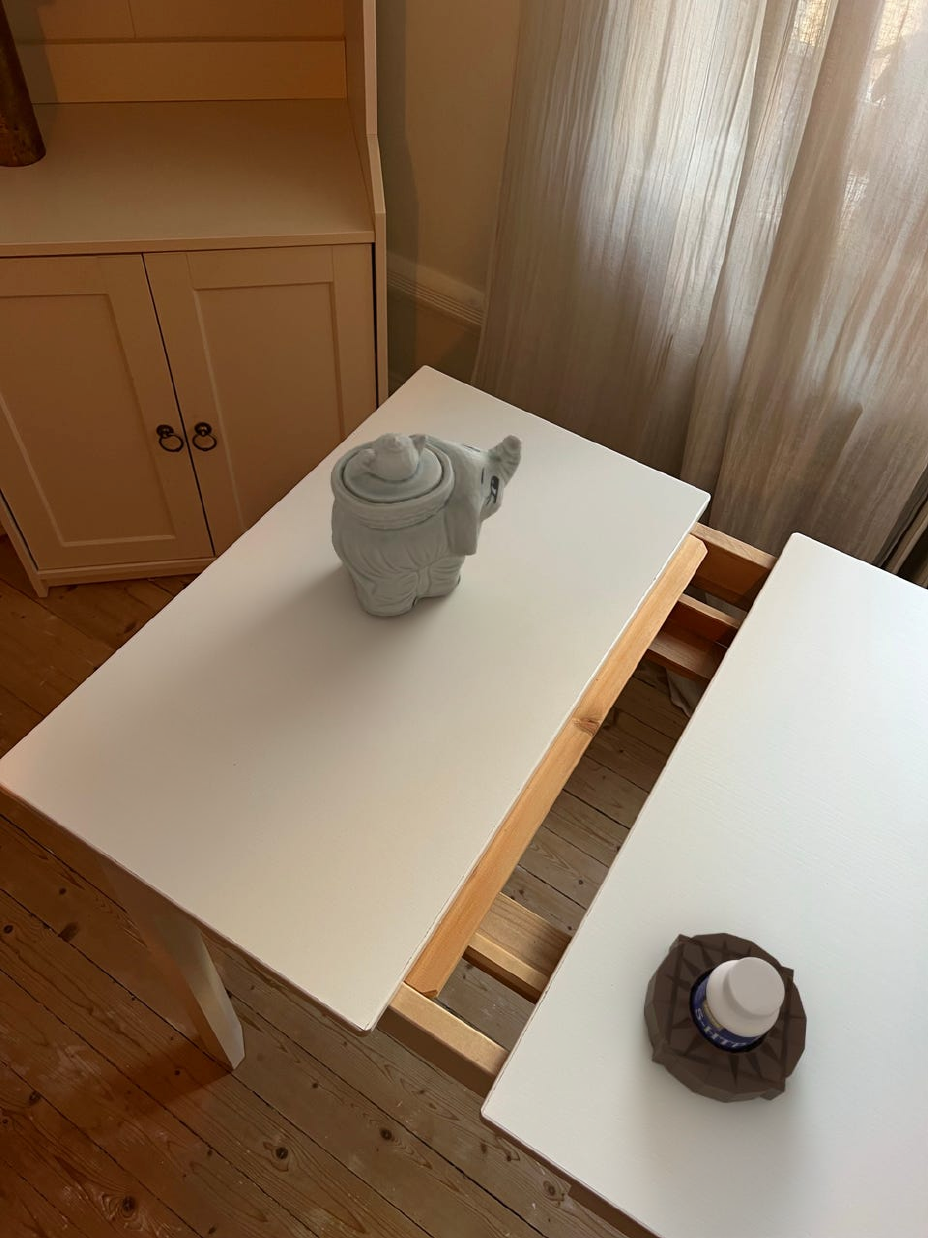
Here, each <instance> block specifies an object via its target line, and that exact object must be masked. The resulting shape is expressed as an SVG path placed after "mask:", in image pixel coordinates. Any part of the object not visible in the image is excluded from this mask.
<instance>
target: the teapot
mask: <svg viewBox="0 0 928 1238" xmlns="http://www.w3.org/2000/svg"><path fill="white" fill-rule="evenodd" d="M522 457H523V442H522V439H521V438H520V436H518V435H515V434H509V435H507V436H505V438H503V440H502V441H501V442H499V443H497V444H496V445H494V446H493V447H491V448H489V449H481V448H479V447H476V446H473V445H470V444H468V443H463V442H453V441H449V440H446V439H444V438H440V437H438V436H435V435H431V434H426V433H414V434H411V435H409V436H407V435H405V434H402V433H398V432H387V433H384V434H382V435H380V436H379V437H377V438H376V439H375V440H371V441H367V442H364V443H362V444H359V445H356V446H354V447H352V448H351V449H348V451H346V453H344V454H343V455H342V456H341V457H340V458H339V459H337V461H336V462H335V464H334V465H333V467H332V470H331V472H330V482H329V483H330V488H331V492H332V495H333V498H334V500H333V503H332V507H331V519H330V523H331V524H330V526H331V544H332V547H333V549H334V551H335V554H336V556H337V557H338V558H339V560H340V561H341V562H342V564H343V565H344V566H345V568H346V569H347V570H348V572H349V576H350V578H351V580H352V581H353V584H354V585H355V587H356V592H357V597H358V600H359V603H360V605H361V606H362V608H363V609H364V610H365V611H366V612H367V613H369V614H371V615H373V616H379V617H394V616H395V617H396V616H399V615H402V614H404V613H406V612H408V611H410V610H411V609H412V608H413V607H415V606H416V604H417V602H418V601H419V600H420V599H421V598H427V597H440V596H443V595H447V594H449V593H451V592H453V591H454V590H455V589H456V588H457V587H458V586H459V585H460V583H461V581H462V574H461V573H462V572H461V569H462V567H463V564H464V562H465V560H466V556H473V555H476V554H477V550H478V544H479V539H480V534H481V531H482V530H481V529H482V525H483V522H484V521H486V520H487V519H489V518H490V517H492V516H493V515H494V514H495V513H497V512H498V511H499V510H500V508H501V507H502V505H503V500H504V493H505V489H506V487H507V486H508V484H509V482H510V481H511V480H512V478H513V477H514V475H515V474H516V472H517V470H518V468H519V466H520V464H521V460H522Z"/></svg>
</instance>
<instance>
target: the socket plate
mask: <svg viewBox="0 0 928 1238" xmlns="http://www.w3.org/2000/svg"><path fill="white" fill-rule="evenodd" d="M668 949H669V950H668V953H667V954H666V956H665V957H664V958H663V960H662V961H661V963H660V964H659V966H658V967H657V969H656V970H655V971H654V973H653V975H652V976H651V977H650V979H649V981H648V983H647V988H646V994H645V1001H644V1006H643V1015H644V1020H645V1024H646V1029H647V1034H648V1038H649V1042H650V1045H651V1046H652V1048H653V1050H652V1056H651V1062H652V1063H656V1064H659V1065H662V1066H664V1068H665V1070H666V1071H667V1072H668V1073H669V1074H670V1075H671V1076H673V1078H674V1079H676V1080H677V1081H679V1082H680V1083H681V1084H682V1085H683V1086H685V1087H686V1089H689V1091H691V1092H692V1093H694V1094H696V1095H699V1096H703V1097H706V1098H708V1099H712V1100H715V1101H718V1102H721V1103H725V1104H726V1103H727V1104H728V1103H737V1102H746V1101H753V1100H756V1099H757V1098H758V1097H759V1098H762V1099H765V1100H769V1101H772V1100H774V1099H776V1098H777V1097H779V1096H781V1095H782V1094H784V1093H785V1092H786V1083H787V1079H788V1078H789V1077H790V1076H792V1074H793V1072H794V1070H795V1069H796V1067H797V1065H798V1064H799V1061H800V1060H801V1058H802V1057H803V1054H804V1052H805V1049H806V1040H807V1039H806V1036H807V1024H808V1022H807V1021H808V1019H807V1017H808V1016H807V1013H806V1011H805V1007H804V1004H803V1001H802V998H801V994H800V991H799V988H798V986H797V985H796V984H795V982H794V976H795V969H793V968H790V967H786V966H783V965H782V964H781V962H780V961H779V960H778V959H777V958H775V957H774V956H773V955H772V954H770V953H769V952H767V951H766V950H765V949H763V948H762V947H761V946H759V944H757V943H756V942H754V941H752V940H749V939H747V938H743V937H740V936H737V935H734V934H730V933H727V932H713V933H699V934H695V935H693V936H689V935H685V934H681V933H679V934H678V935H677V937H676V938H675V939H674V941H672V943H671V945H670V946H669V948H668ZM748 957H753V958H758V959H761V960H764V961H766V962H767V963H769V964H770V965H771V966H772V967H773V968H774V969H775V970H776V971H777V972H778V974H779V975H780V977H781V979H782V981H783V985H784V992H785V993H784V1000H783V1003H782V1005H781V1006H780V1010H779V1015H778V1018H777V1020H776V1022H775V1023H774V1025H773V1026H772V1027H771V1028H770V1029H769V1030H768V1031H767V1032H766V1033H764V1034H763V1035H762V1036H760V1037H759V1038H758V1039H756V1040H755V1041H754V1042H753V1044H752V1047H751V1049H750V1050H749V1051H740V1052H738V1053H731V1052H728V1051H725V1050H722V1049H719V1048H717V1047H715V1046H714V1045H713V1044H712V1043H710V1042H709V1041H708V1040H707V1039H705V1038H704V1037H703V1036H702V1035H701V1033H700V1032H699V1030H698V1029H697V1027H696V1025H695V1024H694V1022H693V1020H692V1015H691V1011H690V1007H689V1001H690V996H691V994H692V988H693V987H694V985H695V986H696V984H698V983H700V982H703V981H704V980H705V979H706V978H707V977H708V976H709V975H710V974H711V973H712V972H713V971H714V970H715V969H716V968H717V967H718V966H720V965H721V964H723V963H725V962H728V961H732V960H741V959H743V958H748Z"/></svg>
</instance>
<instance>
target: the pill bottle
mask: <svg viewBox="0 0 928 1238" xmlns="http://www.w3.org/2000/svg"><path fill="white" fill-rule="evenodd" d="M784 993H785V992H784V985H783V981H782V979H781V977H780V975H779V974H778V972H777V971H776V970H775V969H774V968H773V967H772V966H771V965H770V964H769V963H767V962H766V961H764V960H761V959H758V958H753V957H748V958H743V959H741V960H732V961H728V962H725V963H723V964H721V965H720V966H718V967H717V968H716V969H715V970H714V971H713V972H712V973H711V974H710V975H709V976H708V977H707V978H706V979H705V980H704V981H701V983H700V984H699V985H698V986H697V987H696V988H695V989H694V991H692V992H691V994H690V1001H689V1007H690V1011H691V1015H692V1020H693V1022H694V1024H695V1025H696V1027H697V1029H698V1030H699V1032H700V1033H701V1035H702V1036H703V1037H704V1038H705V1039H707V1040H708V1041H709V1042H710V1043H712V1044H713V1045H714V1046H715V1047H717V1048H719V1049H722V1050H725V1051H728V1052H731V1053H739V1052H742V1051H743V1050H745V1049H746V1048H747V1047H748V1046H750V1045H751V1044H753V1043H755V1042H756V1039H758V1038H759V1037H760V1036H762V1035H763V1034H764V1033H766V1032H767V1031H768V1030H769V1029H770V1028H771V1027H772V1026H773V1025H774V1023H775V1022H776V1020H777V1018H778V1015H779V1010H780V1006H781V1005H782V1003H783V1000H784Z"/></svg>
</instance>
